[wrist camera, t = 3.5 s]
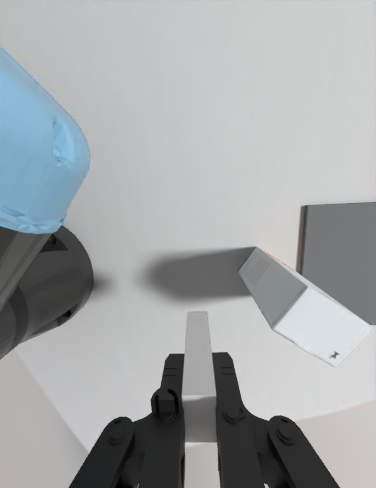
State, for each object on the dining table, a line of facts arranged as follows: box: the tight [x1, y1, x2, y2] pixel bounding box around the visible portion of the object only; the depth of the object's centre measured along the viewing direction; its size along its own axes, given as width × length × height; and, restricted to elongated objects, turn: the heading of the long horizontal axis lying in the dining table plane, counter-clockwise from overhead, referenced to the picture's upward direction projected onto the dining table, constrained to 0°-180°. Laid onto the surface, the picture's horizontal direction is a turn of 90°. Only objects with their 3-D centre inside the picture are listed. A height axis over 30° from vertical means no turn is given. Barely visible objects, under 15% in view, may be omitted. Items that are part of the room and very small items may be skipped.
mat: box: [300, 202, 376, 325], centre depth 25 cm, size 15×16×1 cm
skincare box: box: [238, 247, 372, 367], centre depth 20 cm, size 6×4×12 cm
